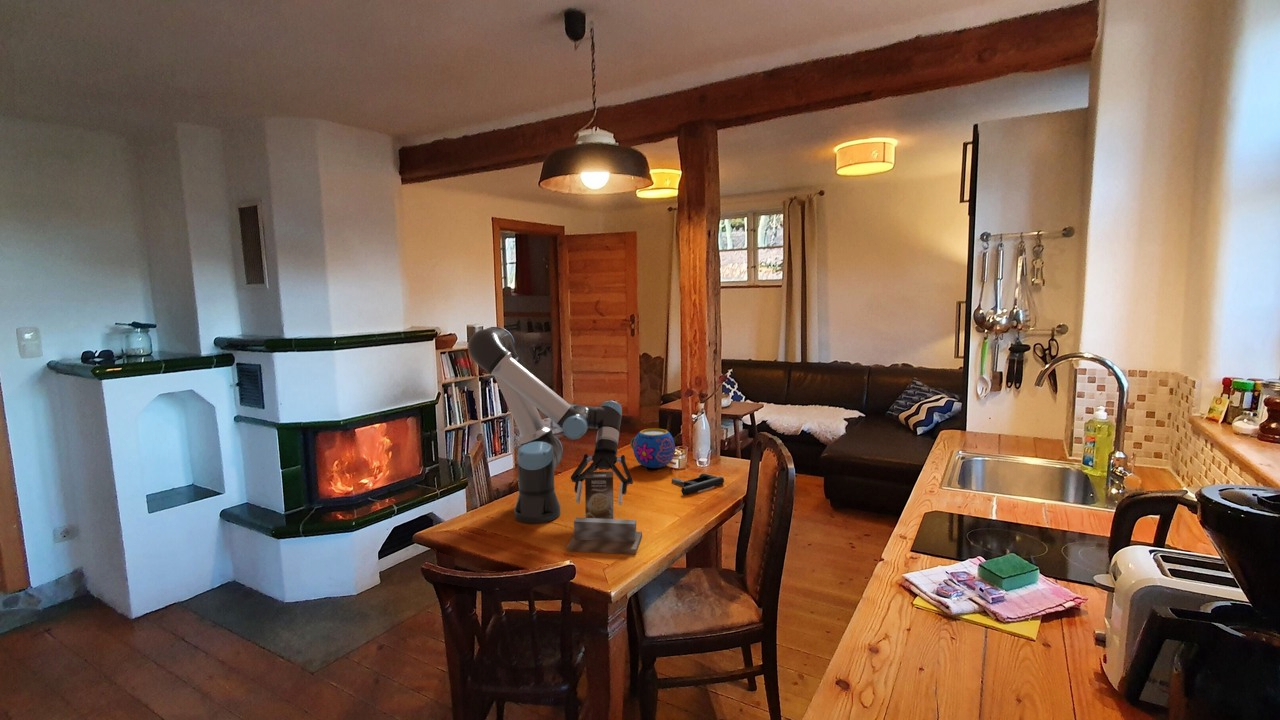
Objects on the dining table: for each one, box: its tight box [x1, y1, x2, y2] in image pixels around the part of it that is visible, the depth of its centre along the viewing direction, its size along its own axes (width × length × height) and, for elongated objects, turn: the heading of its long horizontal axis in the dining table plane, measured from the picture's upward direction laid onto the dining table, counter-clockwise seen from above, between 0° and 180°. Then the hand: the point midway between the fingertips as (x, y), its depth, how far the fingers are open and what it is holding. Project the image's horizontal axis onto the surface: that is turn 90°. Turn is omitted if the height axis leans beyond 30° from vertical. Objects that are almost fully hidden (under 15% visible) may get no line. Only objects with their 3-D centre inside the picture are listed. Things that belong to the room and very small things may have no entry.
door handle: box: [671, 473, 725, 496], centre depth 225 cm, size 3×20×16 cm
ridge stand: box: [566, 517, 643, 555], centre depth 176 cm, size 20×12×7 cm, turn 81°
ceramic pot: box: [630, 427, 676, 469], centre depth 248 cm, size 18×18×15 cm
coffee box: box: [584, 471, 615, 519], centre depth 191 cm, size 9×6×16 cm
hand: (598, 502), depth 189 cm, fingers open, 13 cm apart
